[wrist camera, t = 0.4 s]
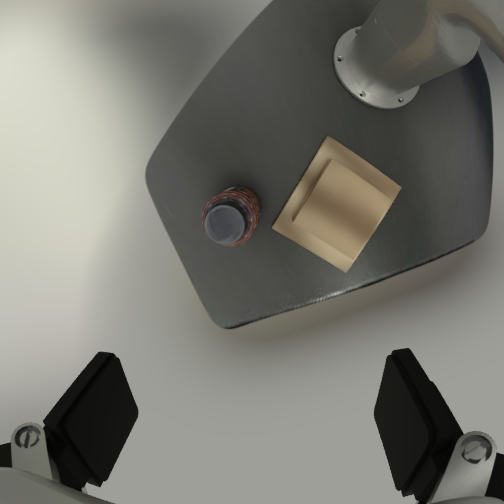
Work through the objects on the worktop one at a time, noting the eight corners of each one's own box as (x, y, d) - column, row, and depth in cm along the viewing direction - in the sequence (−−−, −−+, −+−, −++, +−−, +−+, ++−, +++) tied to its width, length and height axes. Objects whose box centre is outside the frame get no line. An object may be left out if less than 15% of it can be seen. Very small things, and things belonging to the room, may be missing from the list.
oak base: (326, 136, 36) (332, 134, 32) (398, 186, 37) (410, 190, 33) (271, 226, 40) (271, 233, 36) (344, 270, 41) (351, 281, 37)
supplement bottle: (271, 210, 39) (268, 230, 29) (237, 238, 41) (222, 267, 30) (241, 175, 38) (227, 182, 27) (207, 205, 40) (182, 223, 29)
